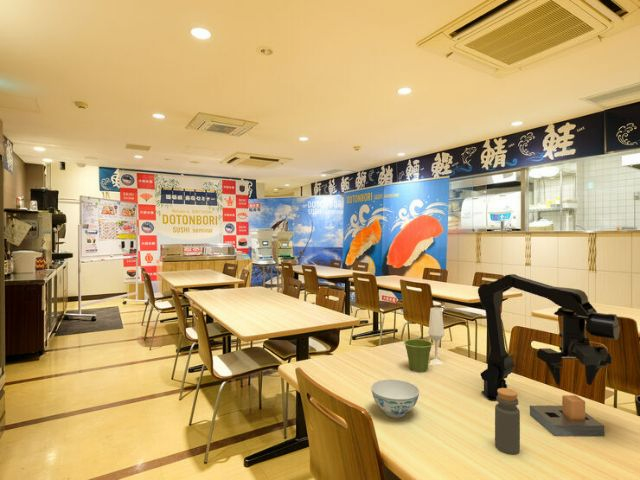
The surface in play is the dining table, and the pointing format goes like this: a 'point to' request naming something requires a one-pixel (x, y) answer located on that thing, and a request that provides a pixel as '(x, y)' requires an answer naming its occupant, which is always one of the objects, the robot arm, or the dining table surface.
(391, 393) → the chinaware
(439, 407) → the dining table surface
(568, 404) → the peg
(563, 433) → the socket plate
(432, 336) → the champagne flute
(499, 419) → the bottle
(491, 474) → the dining table surface
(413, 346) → the plant pot
